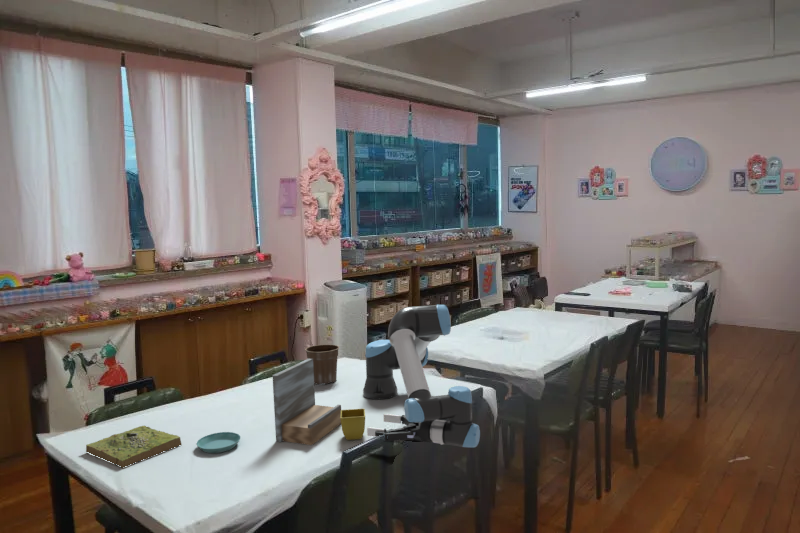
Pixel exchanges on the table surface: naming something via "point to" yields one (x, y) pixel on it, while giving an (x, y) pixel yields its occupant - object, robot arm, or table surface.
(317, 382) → the plant pot
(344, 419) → the flower pot
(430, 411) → the robot arm
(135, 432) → the miniature landscape model
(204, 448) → the saucer
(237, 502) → the table surface
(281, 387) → the book stand
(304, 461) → the table surface
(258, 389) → the table surface
